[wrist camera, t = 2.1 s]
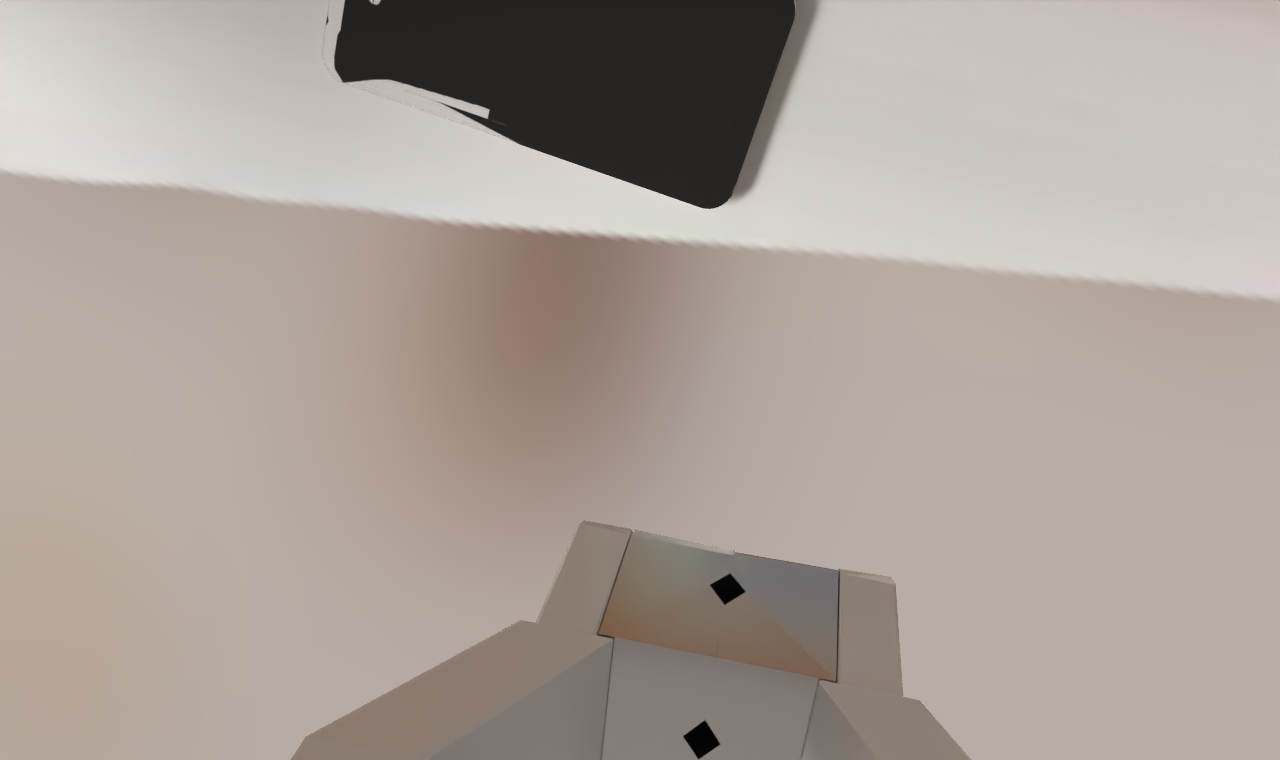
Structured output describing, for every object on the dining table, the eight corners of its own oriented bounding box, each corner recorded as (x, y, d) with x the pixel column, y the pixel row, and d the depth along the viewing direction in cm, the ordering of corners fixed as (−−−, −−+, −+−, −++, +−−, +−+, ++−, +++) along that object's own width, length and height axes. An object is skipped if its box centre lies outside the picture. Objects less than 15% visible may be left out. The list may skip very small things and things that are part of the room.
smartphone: (724, 215, 35) (318, 74, 36) (728, 205, 37) (335, 68, 37) (803, -9, 32) (353, -163, 32) (805, -13, 33) (370, -162, 34)
